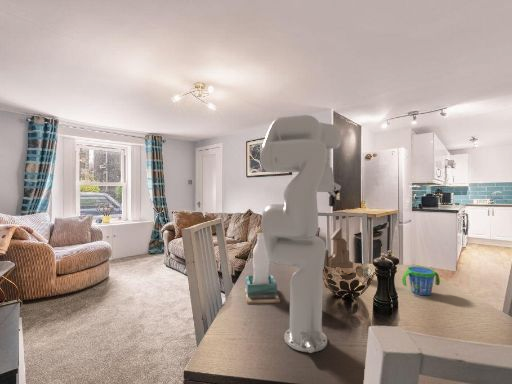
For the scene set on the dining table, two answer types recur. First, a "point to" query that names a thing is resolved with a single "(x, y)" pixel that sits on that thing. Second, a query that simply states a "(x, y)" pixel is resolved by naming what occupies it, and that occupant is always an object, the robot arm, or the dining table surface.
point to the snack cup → (421, 279)
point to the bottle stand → (261, 291)
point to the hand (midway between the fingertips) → (319, 206)
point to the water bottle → (260, 261)
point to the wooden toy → (338, 252)
